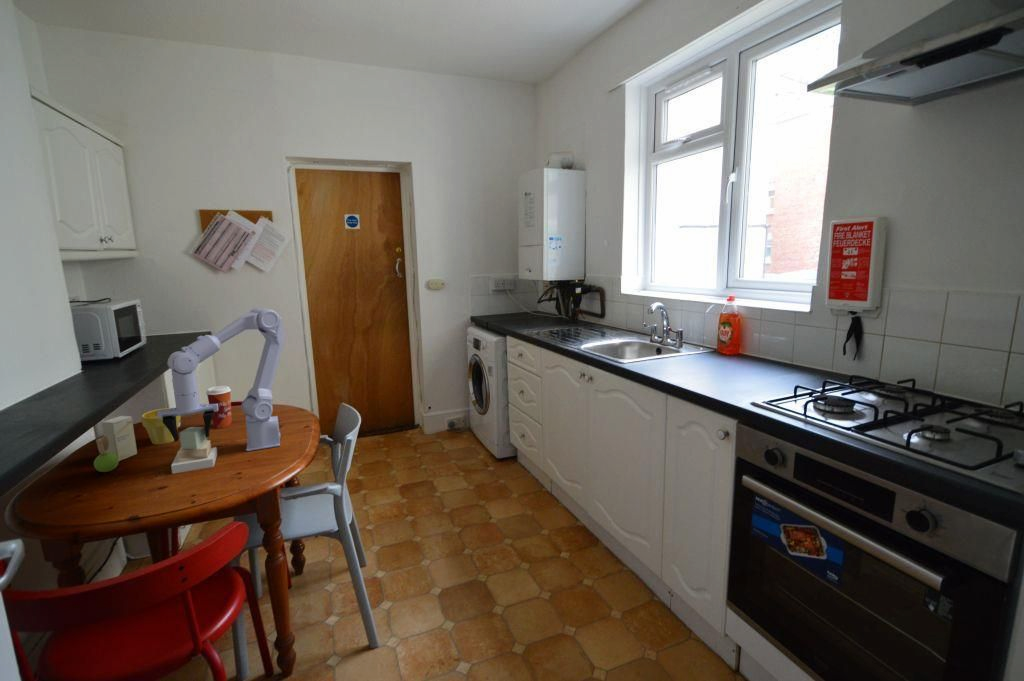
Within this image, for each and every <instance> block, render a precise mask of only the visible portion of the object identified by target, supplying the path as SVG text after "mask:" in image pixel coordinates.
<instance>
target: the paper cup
mask: <svg viewBox="0 0 1024 681" xmlns="http://www.w3.org/2000/svg"><path fill="white" fill-rule="evenodd" d="M231 391H232V389H231V388H230V386H228V385H217V386H212V387H209V388H207V390H206V392H205V394H206V395H207V400H208V404H218V411H217V412H214V414H213V417H212V421H211V422H212V426H213V428H214V429H224V428H228V427H231V426H232V422H233V420H232V400H231V398H232V397H231Z"/></svg>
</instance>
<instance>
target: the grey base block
mask: <svg viewBox="0 0 1024 681" xmlns="http://www.w3.org/2000/svg"><path fill="white" fill-rule="evenodd" d="M217 457H218V448H217V446H214V447H211V451H210V453H209V456H208V458H204V459H198V460H191V461H184V462H179V460H178V452H177V453H176V455H175V457H174V459H173V461H172V463H171V466H170V467H171V473H172V474H180V473H184V472H189V471H190V472H191V471H197V470H203V469H209V468H214V467H215V464H216V460H217Z"/></svg>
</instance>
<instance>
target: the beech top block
mask: <svg viewBox="0 0 1024 681" xmlns="http://www.w3.org/2000/svg"><path fill="white" fill-rule="evenodd" d="M206 440H207V443H206V444H205V445H203V446H201V447H200V448H198V449H181V447H180V448H179V449H178V451H177V453H178V460H179V462H184V461H191V460H198V459H204V458H208V456H209V453H210V451H211V448H212V444H211V439H206Z"/></svg>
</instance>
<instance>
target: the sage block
mask: <svg viewBox="0 0 1024 681" xmlns="http://www.w3.org/2000/svg"><path fill="white" fill-rule="evenodd" d="M207 440H208V439H207V437H206V435H205V426H190V427H187V428H185V429H183V430H181V431H180V432H179V441H180V448H181V449H198V448H200V447H201V446H203V445H205V444H206V443H207Z"/></svg>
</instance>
